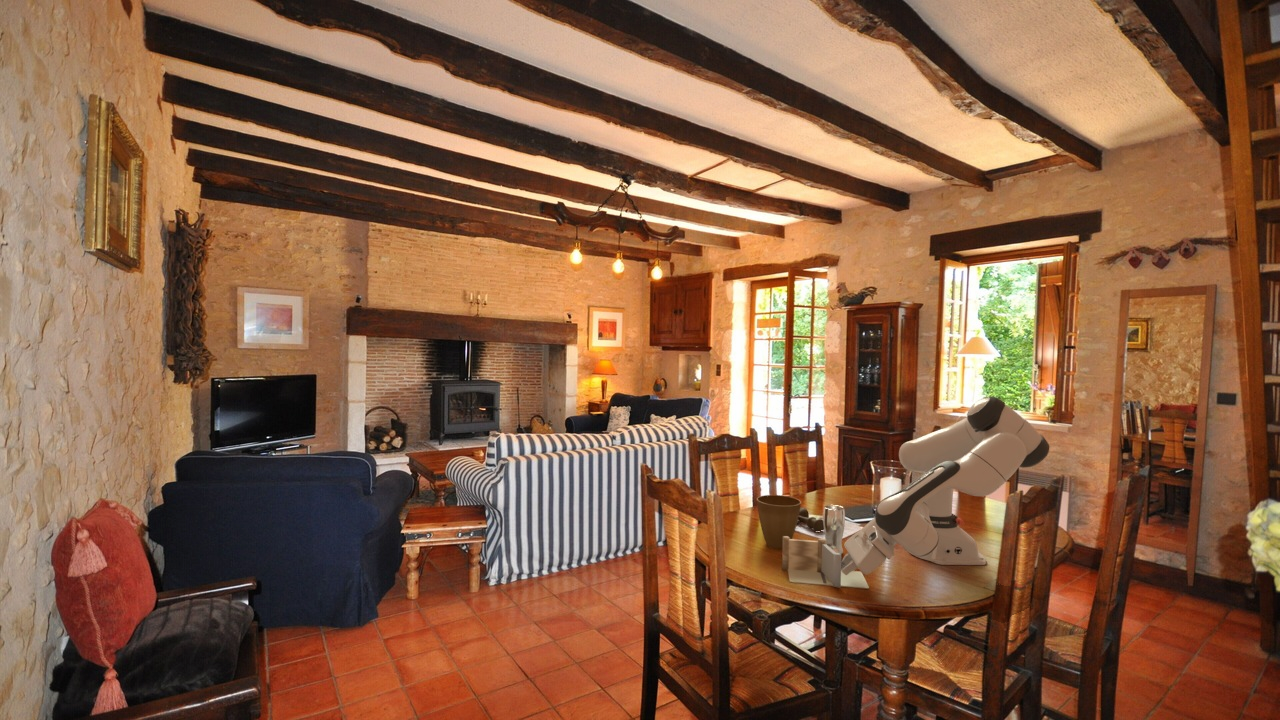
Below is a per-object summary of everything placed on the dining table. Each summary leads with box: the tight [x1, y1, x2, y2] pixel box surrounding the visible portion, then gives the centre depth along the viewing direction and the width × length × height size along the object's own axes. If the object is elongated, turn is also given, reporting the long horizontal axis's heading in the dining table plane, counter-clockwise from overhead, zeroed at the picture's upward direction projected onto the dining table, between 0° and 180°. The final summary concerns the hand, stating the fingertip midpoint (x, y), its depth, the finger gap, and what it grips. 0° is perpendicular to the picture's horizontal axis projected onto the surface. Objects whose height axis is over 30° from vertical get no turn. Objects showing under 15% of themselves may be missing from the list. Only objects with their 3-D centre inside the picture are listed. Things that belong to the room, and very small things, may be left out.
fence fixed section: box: [781, 536, 826, 572], centre depth 180 cm, size 13×2×10 cm, turn 79°
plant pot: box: [756, 494, 802, 550], centre depth 202 cm, size 15×15×16 cm
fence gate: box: [822, 544, 842, 588], centre depth 172 cm, size 11×2×9 cm, turn 5°
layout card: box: [787, 569, 870, 590], centre depth 175 cm, size 22×12×1 cm, turn 79°
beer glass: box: [822, 504, 846, 555], centre depth 196 cm, size 7×7×15 cm
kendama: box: [798, 507, 824, 532], centre depth 225 cm, size 6×10×20 cm
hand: (841, 570), depth 169 cm, fingers open, 3 cm apart
